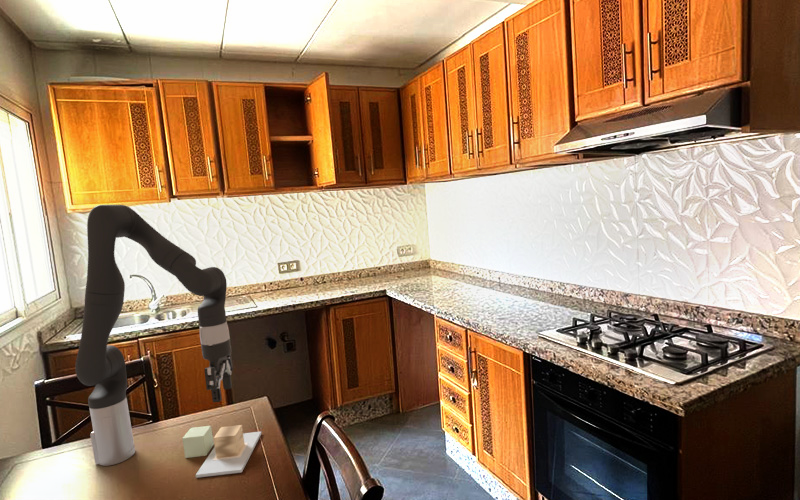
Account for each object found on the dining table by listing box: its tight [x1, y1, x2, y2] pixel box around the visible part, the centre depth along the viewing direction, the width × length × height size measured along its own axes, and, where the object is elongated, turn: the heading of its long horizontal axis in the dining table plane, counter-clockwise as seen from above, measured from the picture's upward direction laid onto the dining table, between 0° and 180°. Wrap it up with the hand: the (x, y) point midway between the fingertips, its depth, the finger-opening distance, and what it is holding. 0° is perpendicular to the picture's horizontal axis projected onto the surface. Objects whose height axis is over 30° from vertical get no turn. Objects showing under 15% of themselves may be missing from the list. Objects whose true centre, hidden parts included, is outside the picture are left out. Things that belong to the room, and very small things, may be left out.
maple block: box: [213, 424, 244, 458], centre depth 127 cm, size 6×6×6 cm
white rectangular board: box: [195, 431, 262, 478], centre depth 128 cm, size 12×20×1 cm, turn 3°
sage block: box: [181, 425, 215, 459], centre depth 131 cm, size 6×6×6 cm
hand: (222, 395), depth 126 cm, fingers open, 8 cm apart
